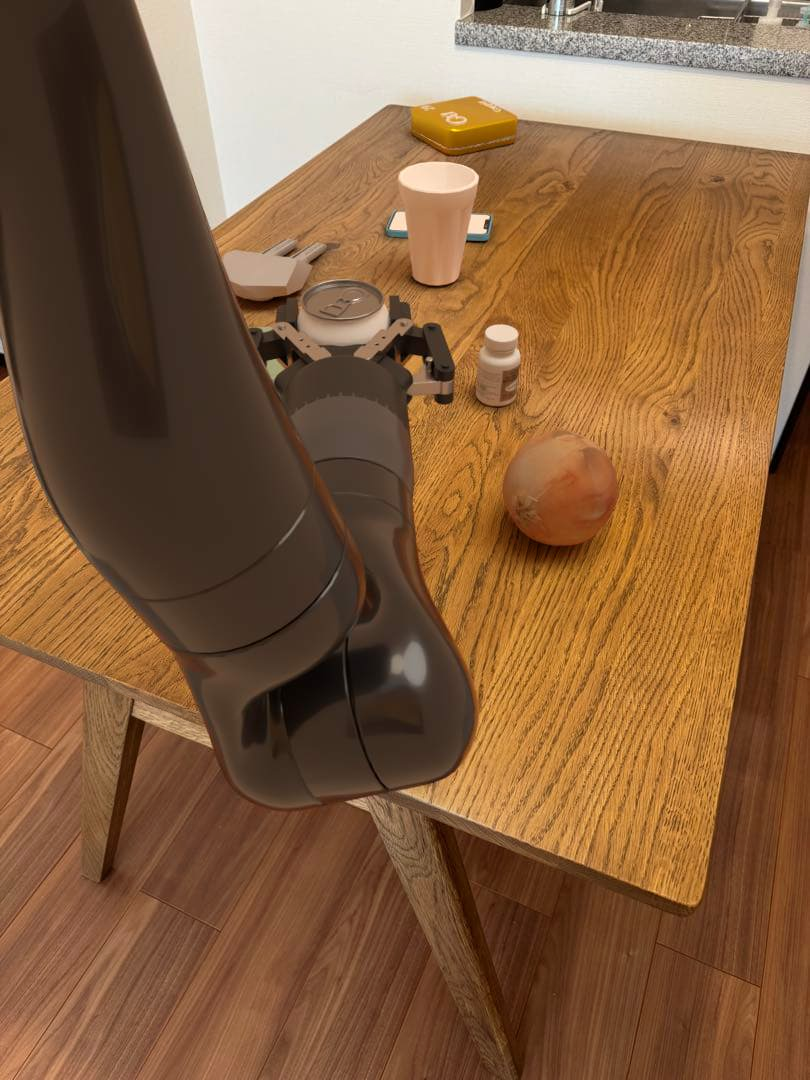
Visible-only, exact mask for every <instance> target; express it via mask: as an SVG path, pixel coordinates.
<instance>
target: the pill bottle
mask: <svg viewBox="0 0 810 1080" xmlns="http://www.w3.org/2000/svg"><path fill="white" fill-rule="evenodd" d="M483 337H484V339H483V346H482V347H481V349H480V350H479V351H478V358H477V359H478V360H477V372H476V373H477V374H476V383H475V384H476V385H475V396H476V398H477V400H478V401H479V402H481V403H482V404H484V405H487V406H491V407H505V406H508V405H510V404H512V403H513V402H515V399H516V397H517V390H518V383H519V375H520V368H521V358H522V357H521V355H522V354H521V352H520V350H519V349H518V344H519V332H518V330H517V329H516V328H515V327H514V326H511V325H508V324H501V323H500V324H493V325H490V326H488V327H486V329H485V331H484V336H483Z"/></svg>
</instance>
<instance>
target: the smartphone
mask: <svg viewBox="0 0 810 1080" xmlns="http://www.w3.org/2000/svg"><path fill="white" fill-rule="evenodd" d="M493 217H494V216H493V215H492V214H490V213H476V212H472V213H471V218H470V223H469V228H468V233H467V237H466V241H480V242H485V241H488V240H489V239H490V235H491V230H492V225H493ZM385 229H386V236H388V237H390V238H407V239H408V233H407V225H406V217H405V210H404V209H403V210H399V209H398V210H395V211H393V212H392V214H391V216H390V218H389V221H388V223H387V225H386V228H385Z"/></svg>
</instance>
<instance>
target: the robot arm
mask: <svg viewBox="0 0 810 1080" xmlns="http://www.w3.org/2000/svg"><path fill="white" fill-rule="evenodd" d="M222 260H223V258H222V256H221V253H220V251H219V248H218V245H217V242H216V240H215V237H214V234H213V231H212V228H211V226H210V223H209V220H208V218H207V215H206V212H205V210H204V207H203V204H202V200H201V197H200V194H199V191H198V188H197V185H196V182H195V179H194V176H193V173H192V169H191V167H190V164H189V160H188V157H187V154H186V150H185V147H184V146H183V142H182V139H181V136H180V132H179V130H178V126H177V124H176V121H175V118H174V115H173V111H172V108H171V106H170V103H169V100H168V97H167V93H166V91H165V87H164V85H163V82H162V79H161V75H160V72H159V69H158V65H157V63H156V59H155V57H154V54H153V51H152V48H151V44H150V42H149V39H148V36H147V32H146V30H145V25H144V23H143V21H142V17H141V14H140V12H139V8H138V6H137V1H136V0H0V341H1V347H2V351H3V356H4V360H5V364H6V369H7V374H8V378H9V382H10V383H9V384H10V388H11V391H12V397H13V401H14V405H15V410H16V415H17V418H18V422H19V425H20V429H21V433H22V436H23V439H24V440H23V441H24V443H25V446H26V450H27V453H28V456H29V458H30V461H31V464H32V467H33V469H34V472H35V474H36V475H35V476H36V477H37V480H38V482H39V484H40V486H41V488H42V491H43V493H44V495H45V497H46V499H47V501H48V503H49V505H50V507H51V508H52V510H53V512H54V513H55V516H56V517H57V519H58V520H59V522H60V523H61V525H62V527H63V529H64V530H65V531H66V533H67V534H68V535H69V537H70V539H71V540H72V542H74V544H75V545H76V547H77V548H78V549H79V551H80V552H81V553H82V554H83V556H84V557H85V559H86V560H87V561H88V562H89V564H91V566H92V568H94V569H95V570H96V572H98V573H99V575H100V576H101V577H102V578H103V579H104V581H106V582H107V584H108V585H110V587H111V588H112V589H113V591H115V592H116V593H117V594H118V596H119V597H120V598H121V599H122V600H123V601H124V602H125V603H126V605H127V606H128V607H129V608H130V609H131V610H132V611H133V612H134V613H135V614H136V615H137V617H138V618H139V619H140V620H141V621H142V622H143V623H144V624H145V626H147V627H148V629H149V630H150V631H151V632H152V633H153V634H154V635H155V636H156V637H157V638H158V640H160V642H161V643H162V644H163V645H164V646H165V647H166V648H167V649H168V650H169V651H170V652H171V653H172V655H173V656H174V658H175V661H176V662H177V665H178V667H179V670H180V671H181V673H182V675H183V678H184V680H185V682H186V684H187V687H188V688H189V691H190V694H191V695H192V698H193V701H194V703H195V705H196V707H197V710H198V712H199V714H200V716H201V719H202V721H203V724H204V726H205V729H206V732H207V734H208V737H209V740H210V743H211V746H212V749H213V752H214V756H215V759H216V761H217V764H218V767H219V769H220V771H221V773H222V775H223V777H224V781H225V782H226V783H227V784H228V785H229V787H230V788H231V789H232V791H234V793H236V794H237V795H238V796H239V797H241V798H242V799H244V800H245V801H247V802H249V803H251V804H253V805H255V806H258V807H260V808H263V809H266V810H269V811H275V812H284V813H291V812H302V811H308V810H312V809H317V808H322V807H326V806H327V807H328V806H331V805H337V804H340V803H346V802H350V801H355V800H359V799H364V798H369V797H373V796H376V795H377V796H378V795H382V794H386V793H392V792H398V791H404V790H409V789H415V788H420V787H423V786H427V785H432V784H434V783H437V782H440V781H442V780H445V779H447V778H449V777H450V776H451V775H453V774H454V773H456V772H457V771H458V769H460V767H462V765H463V764H464V763H465V761H466V759H467V757H468V756H469V754H470V752H471V750H472V747H473V745H474V742H475V740H476V737H477V732H478V727H479V721H480V720H479V719H480V718H479V717H480V707H479V697H478V693H477V689H476V686H475V682H474V678H473V676H472V673H471V671H470V668H469V665H468V664H467V662H466V659H465V658H464V656H463V653H462V651H461V649H460V647H459V645H458V644H457V641H456V640H455V638H454V636H453V633H452V632H451V630H450V629H449V627H448V625H447V624H446V622H445V620H444V618H443V616H442V615H441V613H440V610H439V609H438V607H437V605H436V603H435V600H434V599H433V596H432V593H431V591H430V589H429V587H428V585H427V582H426V579H425V576H424V573H423V569H422V565H421V562H420V556H419V550H418V543H417V533H416V532H417V531H416V522H415V511H414V493H415V465H414V464H415V463H414V456H413V448H412V437H411V427H410V418H409V409H408V405H410V403H411V402H412V400H413V397H417V396H430V395H432V397H433V399H434V402H435V403H436V404H438V405H443V406H446V405H450V404H452V403H453V402H454V398H455V397H454V395H455V378H456V377H455V376H456V364H455V362H454V359H453V356H452V353H451V350H450V348H449V345H448V343H447V340H446V337H445V333H444V331H443V328H442V325H440V324H439V323H437V322H427V323H424V324H423V325H422V327H419V326H417V325H415V324H414V321H413V319H412V312H411V305H410V304H409V303H408V302H407V301H401V299H400V295H399V294H397V295H396V294H395V295H394V294H392V295H390V294H389V296H388V303H389V304H388V307H389V310H388V312H389V314H390V319H391V326H390V327H389V329H388V330H385V329H381V330H380V331H379V332H378V333H377V334H376V335H375V336H374V337H373V338H372V339H371V340H370V341H369V342H368V343H367V344H354V345H348V346H335V345H318V344H317V343H315V342H314V341H313V340H312V339H311V338H310V337H309V336H308V335H307V334H306V333H305V332H304V331H302V332H298V331H297V318H298V314H299V312H300V308H299V300H298V297H287V298H286V304H280V305H279V306H278V307H276V314H275V322H274V323H273V325H272V326H271V327H272V328H273V329H272V330H270V331H268V332H263V331H262V329H260V328H256V327H257V326H252V327H253V328H248V327H249V326H248V324H247V321H246V318H245V316H244V314H243V311H242V309H241V307H240V303H239V301H238V298H237V295H235V293H234V290H233V288H232V285H231V282H230V280H229V277H228V275H227V272H226V269H225V267H224V264H223V261H222ZM413 356H417V357H418V356H419V357H421V360H422V361H421V362H422V365H421V366H420V367H419V371H418V372H417V373H416V374H412V372H411V371H410V370H409V369H407V368H406V367H405V366H406V365H407V363H408V362H409V361H410V360H411V359H412V358H413ZM274 359H277V361H278V362H279V363H280V364H281V365H282V367H283V368H284V370H283V371H281V372H280V373H279V374H278V375H277V376H276V378H275V380H273V379H271V377H270V375H269V373H268V370H267V368H266V367H267V361H269V360H274Z"/></svg>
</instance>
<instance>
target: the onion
mask: <svg viewBox="0 0 810 1080" xmlns="http://www.w3.org/2000/svg"><path fill="white" fill-rule="evenodd" d="M618 482H619V481H618V477H617V473H616V469H615V467H614V464H613V462H612V460H611V459H610V456H609V455H608V453H607V452H606V450H604V448H603V447H602V446H600V445H599V444H597V442H595V441H593V440H592V439H591V438H589V437H587V436H585V435H583V434H580V433H578V432H575V431H573V430H571V429H565V428H555V429H552V430H549V431H545V432H544V433H541V434H539V435H537V436H534V437H532V438H530V439H529V440H527V441H526V442H524V444H522V445H521V446H520V447H519V449H518V450H517V451H516V452H515V453H514V454H513V456H512V457H511V459H510V461H509V462H508V465H507V467H506V469H505V473H504V475H503V480H502V499H503V502H504V505H505V507H506V510H507V511H508V513H509V515H510V517H511V519H512V521H513V522H514V524H515V526H517V527H518V529H519V530H520V531H521V532H522V533H523V534H524V535H526V536H527V537H529V538H530V539H531V540H533V541H535V542H538V543H541V544H544V545H549V546H553V547H560V546H565V547H567V546H568V547H569V546H573V545H578V544H582V543H584V542H587V541H589V540H590V539H592V538H593V537H594V536H596V535H597V534H599V532H600V531H601V530H602V529H603V527H604V526H605V525H606V524H607V522H609V519H610V518H611V516H612V514H613V512H614V510H615V507H616V504H617V501H618V498H619V483H618Z"/></svg>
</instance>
